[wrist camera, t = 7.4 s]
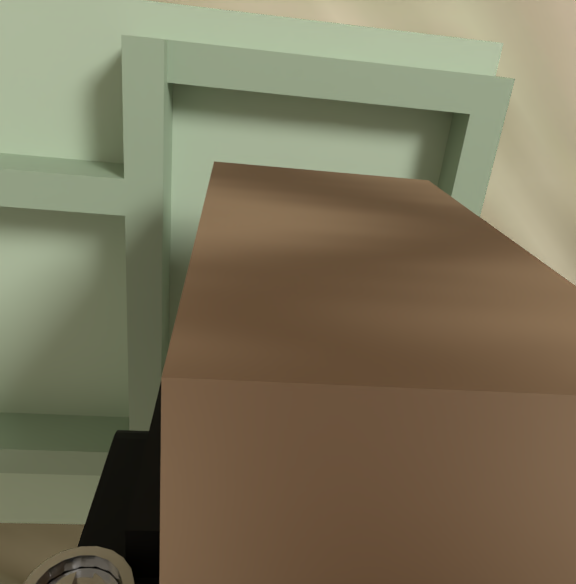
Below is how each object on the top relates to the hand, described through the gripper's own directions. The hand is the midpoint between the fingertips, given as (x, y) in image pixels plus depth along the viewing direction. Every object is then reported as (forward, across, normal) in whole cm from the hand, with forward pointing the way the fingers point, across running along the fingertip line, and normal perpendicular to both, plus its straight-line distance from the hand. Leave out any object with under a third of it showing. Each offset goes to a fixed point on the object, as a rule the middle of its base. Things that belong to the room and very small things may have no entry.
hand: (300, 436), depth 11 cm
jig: (+6, +4, 0) cm, 7 cm away
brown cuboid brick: (+1, 0, 0) cm, 1 cm away
